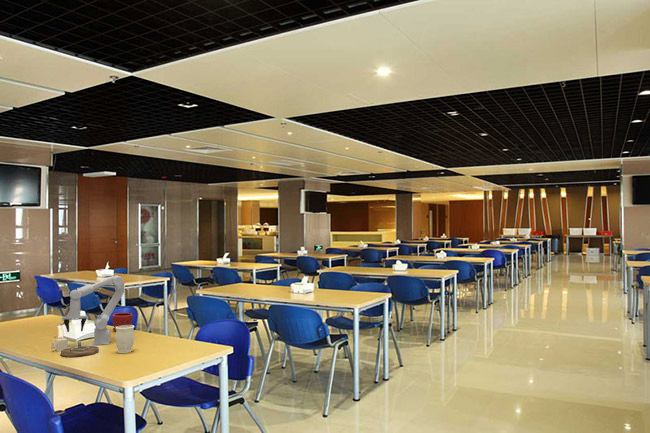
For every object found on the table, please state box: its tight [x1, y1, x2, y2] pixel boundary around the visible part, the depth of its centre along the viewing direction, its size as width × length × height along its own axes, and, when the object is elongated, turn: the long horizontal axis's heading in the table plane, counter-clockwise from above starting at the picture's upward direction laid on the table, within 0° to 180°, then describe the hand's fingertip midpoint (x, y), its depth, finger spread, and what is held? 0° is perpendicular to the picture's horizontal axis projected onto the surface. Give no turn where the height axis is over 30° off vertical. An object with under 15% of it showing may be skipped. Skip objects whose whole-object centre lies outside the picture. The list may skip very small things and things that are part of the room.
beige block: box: [51, 337, 69, 353], centre depth 292 cm, size 8×5×6 cm, turn 140°
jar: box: [114, 324, 135, 354], centre depth 289 cm, size 11×10×15 cm
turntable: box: [60, 341, 100, 358], centre depth 286 cm, size 20×20×4 cm
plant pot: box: [112, 312, 133, 332], centre depth 348 cm, size 13×13×12 cm
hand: (75, 331), depth 302 cm, fingers open, 7 cm apart
